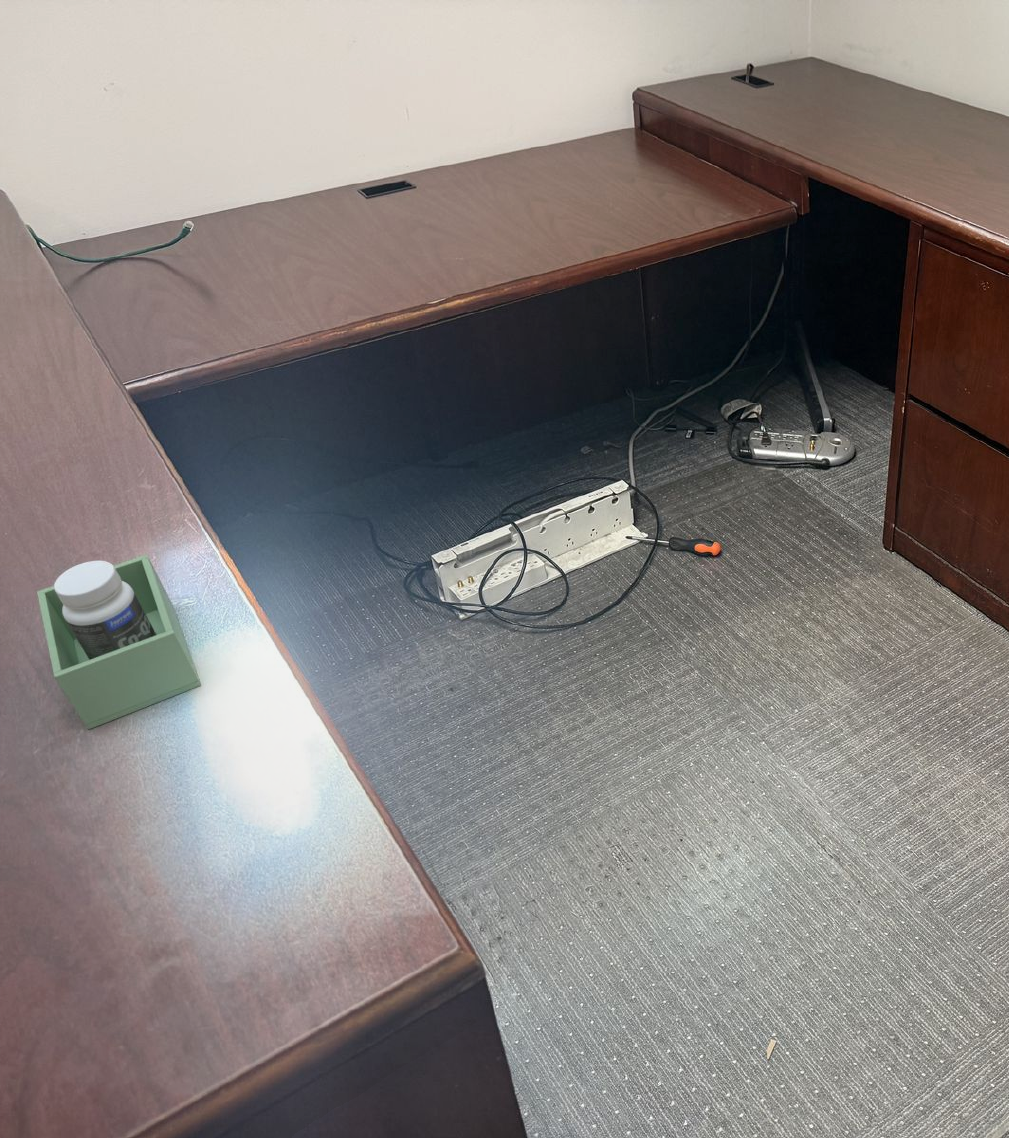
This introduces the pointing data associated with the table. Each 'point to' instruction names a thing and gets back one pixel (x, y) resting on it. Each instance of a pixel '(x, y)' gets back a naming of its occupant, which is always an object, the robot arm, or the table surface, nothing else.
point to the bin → (121, 654)
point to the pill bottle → (101, 608)
